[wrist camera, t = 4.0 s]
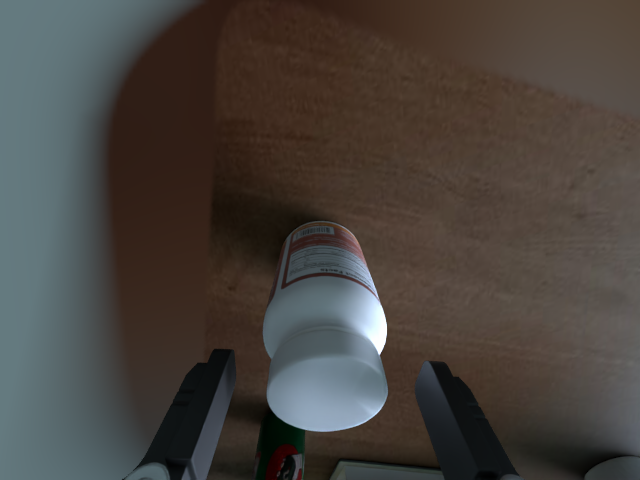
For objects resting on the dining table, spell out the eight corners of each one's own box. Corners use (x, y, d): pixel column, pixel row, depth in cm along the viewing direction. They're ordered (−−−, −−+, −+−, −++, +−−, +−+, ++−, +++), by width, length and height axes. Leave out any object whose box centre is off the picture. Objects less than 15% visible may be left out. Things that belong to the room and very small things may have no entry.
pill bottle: (324, 299, 21) (332, 458, 11) (265, 259, 19) (213, 407, 10) (377, 250, 19) (442, 392, 9) (316, 200, 17) (318, 311, 8)
